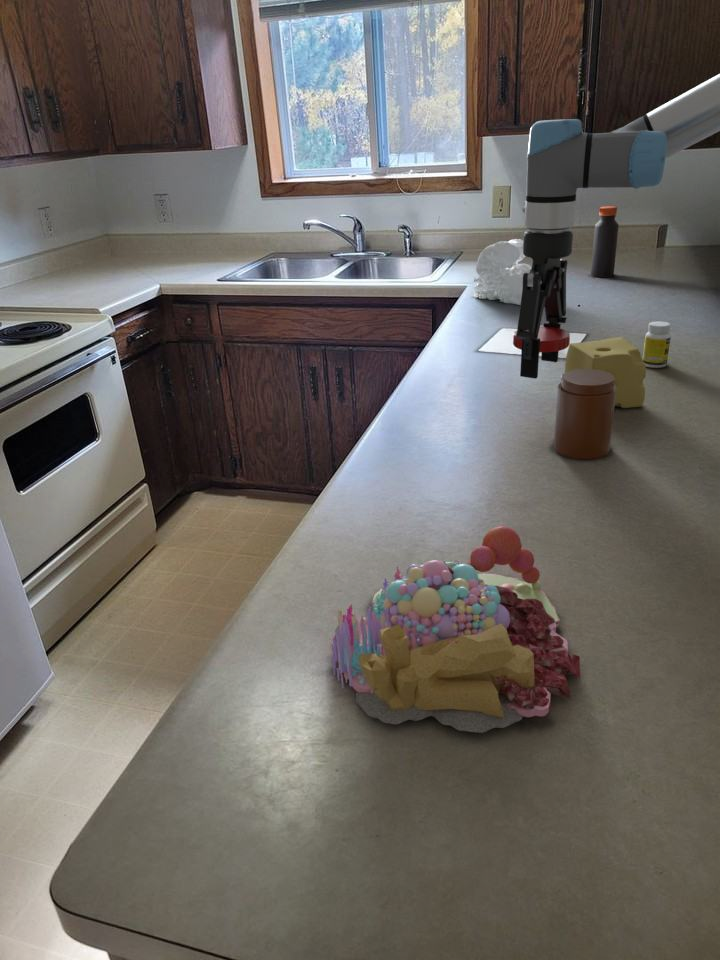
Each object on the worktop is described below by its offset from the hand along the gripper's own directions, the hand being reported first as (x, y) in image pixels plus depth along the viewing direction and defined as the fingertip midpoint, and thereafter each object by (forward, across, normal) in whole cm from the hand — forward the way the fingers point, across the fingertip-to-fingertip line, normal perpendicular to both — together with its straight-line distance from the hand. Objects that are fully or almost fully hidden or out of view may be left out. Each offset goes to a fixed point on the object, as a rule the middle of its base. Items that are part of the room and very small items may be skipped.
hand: (539, 368), depth 125 cm
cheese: (+8, -11, +8) cm, 16 cm away
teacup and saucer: (+8, -42, -16) cm, 45 cm away
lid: (-6, 0, 0) cm, 6 cm away
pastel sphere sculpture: (+8, +64, +15) cm, 66 cm away
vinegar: (+8, -119, -24) cm, 122 cm away
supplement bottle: (+8, -36, +11) cm, 38 cm away
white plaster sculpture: (+8, -79, -39) cm, 89 cm away
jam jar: (+8, +11, +11) cm, 18 cm away
